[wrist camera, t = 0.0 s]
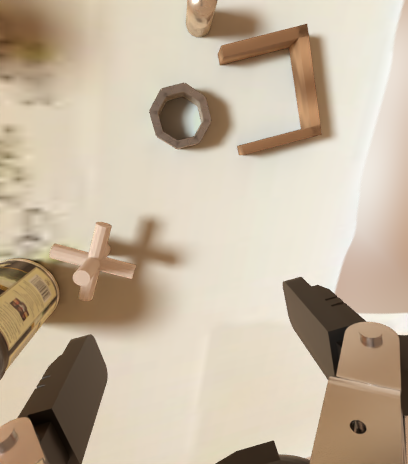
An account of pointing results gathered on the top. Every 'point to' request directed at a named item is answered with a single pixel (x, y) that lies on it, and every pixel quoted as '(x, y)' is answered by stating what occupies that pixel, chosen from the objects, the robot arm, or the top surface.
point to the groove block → (302, 77)
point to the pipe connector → (92, 261)
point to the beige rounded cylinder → (200, 16)
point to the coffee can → (23, 305)
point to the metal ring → (193, 97)
